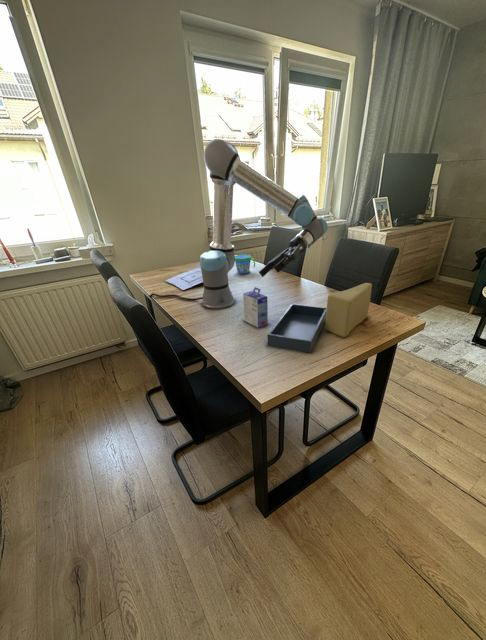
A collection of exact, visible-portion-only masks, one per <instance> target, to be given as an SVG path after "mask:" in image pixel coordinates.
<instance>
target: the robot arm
mask: <svg viewBox="0 0 486 640" xmlns="http://www.w3.org/2000/svg"><path fill="white" fill-rule="evenodd" d="M203 160H204V164H205V166H206V168H207V169H208V171H209V180H210V181H211V182H212V184H213V185H212V186H213V189H212V191H213V193H212V194H213V195H212V197H213V198H212V200H213V201H212V203H213V205H212V216H213V217H212V242H211V243H210V244H209V251H206V252H203V253H202V254H200V257H199V266H200V267H201V271H202V278H203V282H202V283H203V293H202V296H200V297H195V298H194V297H192V298H190V297H183V296H180V295H178V294H157V293H155V292H154V293H153V292H151V293H150V295H149V297H153V296H155V297H158V298H170V297H176V298H179V299H180V300H185V301H198V300H201V304H202V306H203V307H204V308H207V309H211V310H220V309H226V308H228V307H231V306H232V305H234V303H235V298H234V295H233V292H232V291H231V288H230V286H229V285H230V284H229V276H228V275H229V273H230V272H231V270H232V269H233V267H234V266H235V264H236V263H235V256H236V255H235V246H234V244H232V230H233V229H232V228H233V227H232V226H233V206H234V205H233V204H234V201H233V200H234V186H235V185H238V186H240V187H241V188H243V189H244V190H246V191H248V192H249V193H251V194H252V195H254V196H255V197H257V198H258V199H260V200H261V201H264V202H265V203H266V204H268V205H269V206H271V207H273V208H274V209H275V210H277V211H278V212H280V213H282V214H283V215H285V216H286V217H288V218H289V219H291V220H292V221H293V222H294V223H295V224H296V225H297V226H300V227H301V228H302V229H303V230H301V231H300V232H299V233H297V235H295V236H294V237H293V238H292V239H291V240H290V241H289V243H288V247H287V248H285V250H283V251H282V252H280V253H279V254H278V255H276V256H275V257H274V258H272V259H271V260H270V261H268V262H267V264H266V265H264V267H262V268H261V270H259V271H258V273H259V274H260V276H261V277H262V278H264V276H266V275H267V274H268V273H270V271H272V270H275V271H276V273H280V272H281V271H282V270H283V269H284V268H285V267H287V266H288V265H289V264H290V263H292V262H293V261H295V260H296V259H297V258H298V256H301V255H303V254H304V253H305V252H306V251H307V250H308V249H309V250H310V249H311V246H313V244H315V243H316V242H317V241H318V240H319V239H320V238H322V237H323V236H324V235H325V234H326V233H327V231H328V223H327V220H325V219H324V218H323V217H317V215H316V213H315V212H314V209H313V207H312V205H311V204H310V202H309V199H308V198H307V197H306V195H305V194H302V195H300V196H299V197H297V196H295V195H294V194H293V193H291V192H289V191H288V190H286V189H284V188H283V187H282V186H280V185H279V184H277V183H276V182H275V181H273V180H272V179H270V178H268V177H267V176H266V175H264V174H262V173H261V172H259V171H258V170H257V169H255V168H254V167H252V166H250V165H249V164H248V163H247V162H245V161H243V160H242V156H241V155H240V153H239V151H238V150H237V147H235V145H234V144H233V143H231V142H229V141H225V140H223V139H221V138H215V139H212V140H210V141H209V142H208V143H206V145H205V148H204V150H203Z"/></svg>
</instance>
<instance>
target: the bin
mask: <svg viewBox="0 0 486 640" xmlns="http://www.w3.org/2000/svg"><path fill="white" fill-rule="evenodd" d="M326 310H327V307H323V306H317V305H307V304H300V303H291V304H290V305H289V306H288V307H287V309H286V310H285V311H284V312H283V314H282V315H281V316H280V318H279V319H278V320H277V321H276V323H275V324H274V325H273V327H272V328H271V329H270V331H269V332H268V333H267V334H266V335H267V346H269V347H274V348H280V349H285V350H292V351H296V352H302V353H308V354H311V352H312V350H313V348H314V345H316V341H317V340H318V337H319V335H320V333H321V331H322V329H323V326H324V324H326Z"/></svg>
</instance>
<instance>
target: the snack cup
mask: <svg viewBox="0 0 486 640" xmlns="http://www.w3.org/2000/svg"><path fill="white" fill-rule="evenodd" d="M251 261H252V262H253V268H255V267H256V261H255V259H254V257H252V256H251V255H250V254H236V255H235V263H234V264H235V268H236V272H237V274H239V275H243V274H244V275H245V274H249V273H250V268H251Z"/></svg>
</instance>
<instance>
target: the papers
mask: <svg viewBox="0 0 486 640" xmlns="http://www.w3.org/2000/svg"><path fill="white" fill-rule="evenodd" d="M165 282H166V283H169V284H171V285H174V286H176V287H177V288H179V289H180V290H182V291H184V290H187V289H190V288H192V287H194V286H196V285H199V284H201V283H203V278H202V271H201V266H200V267H196V268H193V269H190V270H188V271H185V272H183V273H180V274H178V275H174V276H172V277H170V278H167V279H166V280H165Z"/></svg>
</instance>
